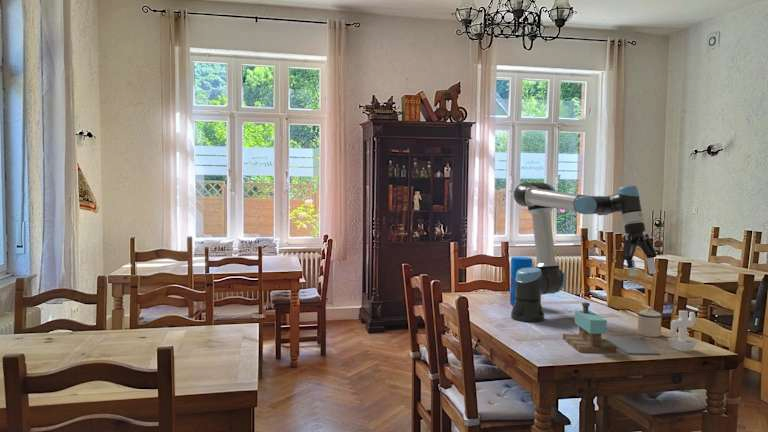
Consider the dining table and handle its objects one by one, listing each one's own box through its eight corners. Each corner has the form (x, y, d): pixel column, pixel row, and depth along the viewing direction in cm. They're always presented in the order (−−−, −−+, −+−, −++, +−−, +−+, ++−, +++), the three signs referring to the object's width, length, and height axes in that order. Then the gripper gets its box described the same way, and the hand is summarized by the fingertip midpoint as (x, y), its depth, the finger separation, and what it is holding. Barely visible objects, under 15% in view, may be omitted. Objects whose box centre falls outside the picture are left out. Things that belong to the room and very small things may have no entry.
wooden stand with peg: (562, 338, 216) (563, 300, 215) (597, 339, 216) (598, 300, 215) (578, 351, 198) (580, 310, 197) (616, 352, 198) (617, 310, 197)
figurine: (664, 347, 205) (665, 308, 205) (685, 346, 207) (687, 308, 206) (677, 353, 198) (679, 313, 198) (699, 352, 200) (701, 312, 199)
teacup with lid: (666, 337, 220) (667, 309, 220) (645, 337, 219) (646, 309, 219) (648, 329, 232) (649, 303, 232) (628, 330, 231) (629, 303, 231)
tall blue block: (533, 305, 281) (535, 257, 280) (527, 308, 272) (528, 259, 271) (513, 302, 287) (514, 256, 286) (506, 305, 278) (508, 258, 277)
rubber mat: (604, 339, 216) (604, 337, 216) (634, 339, 216) (634, 338, 216) (627, 354, 196) (627, 352, 196) (659, 354, 196) (659, 353, 196)
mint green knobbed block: (574, 322, 214) (575, 310, 213) (589, 323, 214) (590, 310, 213) (590, 333, 198) (590, 320, 197) (606, 333, 198) (606, 320, 197)
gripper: (624, 222, 209) (633, 276, 206) (659, 221, 223) (669, 271, 220) (607, 225, 215) (616, 277, 212) (642, 224, 229) (651, 273, 226)
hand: (643, 274), depth 216 cm, fingers open, 13 cm apart
